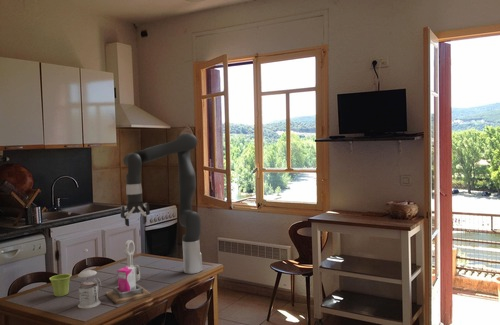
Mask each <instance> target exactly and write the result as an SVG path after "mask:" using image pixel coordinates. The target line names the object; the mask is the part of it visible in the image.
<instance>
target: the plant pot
mask: <svg viewBox="0 0 500 325" xmlns="http://www.w3.org/2000/svg"><path fill="white" fill-rule="evenodd" d="M71 277H72V274H71V273H70V274H69V273H62V274H57V275H56V274H55V275H53V276H51V277H49V281H50V283H51V285H52V286H51V287H52V290H53V295H54V296H55V297H63V296H66V295H68V294H69V289H70V279H71Z"/></svg>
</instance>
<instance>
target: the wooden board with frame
mask: <svg viewBox="0 0 500 325" xmlns="http://www.w3.org/2000/svg"><path fill="white" fill-rule="evenodd" d="M105 295H106V296H107V297H108V298H109V299H110V300H111V301H112V302H114V304H115V305H120V304H123V303H128V302H131V301H136V300H140V299H144V298H147V297H151V296H152V293H151V292H149V290H147V289H146V288H144V287H143V286H141V285H140V284H138V283H136V289H135V290H131V291H127V292H120V291H119V285H118V286H114V287H112V290H109V291H106V292H105Z"/></svg>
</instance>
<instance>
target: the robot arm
mask: <svg viewBox="0 0 500 325" xmlns="http://www.w3.org/2000/svg"><path fill="white" fill-rule="evenodd" d="M197 145H198V139H197V137H196V136H195V135H194V134H193V133H182V134H179V135H178V136H177V137H176V139H175V140H172V141H169V142H165V143H161V144H156V145H152V146H149V147H146V148H145V149H142V150H137V151H133V152H129V153H127V154H126V155H124V157H123V159H122V160H123V164H124V165H125V166H126V167H127V173H126V176H125V178H126V179H125V181H126V184H125V185H126V190H125V191H126V205H120V218H121V219H124V225H125V226H126V227H129V226H130V221H129V220H130V219H129V217H130V216H131V215H132V214H136V213H137V214H139V213H140V214H141V215H142V224H144V225H145V224H146V223H147V220H148V219H147V216H149V215H150V214H151V210H150V203H148V202H143V187H142V179H141V178H142V177H141V173H142V166H143V165H142V164H144V163H150V162H153V161H156V160H159V159H162V158H164V157H167V156H169V155H173V154H176V153H177V154H176V155H177V165H178V167H177V168H178V191H179V194H178V195H179V196H178V197H179V205H178V222H179V224H180V226H181V227H184V228H185V234H183V235H182V240H181V241H182V258H183V272H184V273H185V274H187V275H188V274H192V275H193V274H198V273H200V272H202V271H203V258H202V257H203V255H202V253H201V247H200V246H201V245H200V244H201V243H200V237H201V233H202V232H201V230H202V229H201V225H202V224H201V215H200V214H199V213H198V212H196V211H193V210H192V199H193V197H194V194H195V191H196V188H197V181H196V171H195V169H194V166H193V164H192V160H191V151H192V150H194V149H195V148H196V147H197ZM143 208H144V209H145V211H144V210H143ZM126 209H127V211H126ZM125 211H126V213H125Z"/></svg>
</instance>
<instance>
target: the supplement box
mask: <svg viewBox="0 0 500 325" xmlns="http://www.w3.org/2000/svg"><path fill="white" fill-rule="evenodd" d="M116 273H117V282H118V284H117V285H118V286H119V291H120V292H127V291H131V290H135V289H136V284H137V283H136V282H137V281H136V280H135V268H133V267H126V266H124V267H122V268H119V269H117V272H116Z"/></svg>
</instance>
